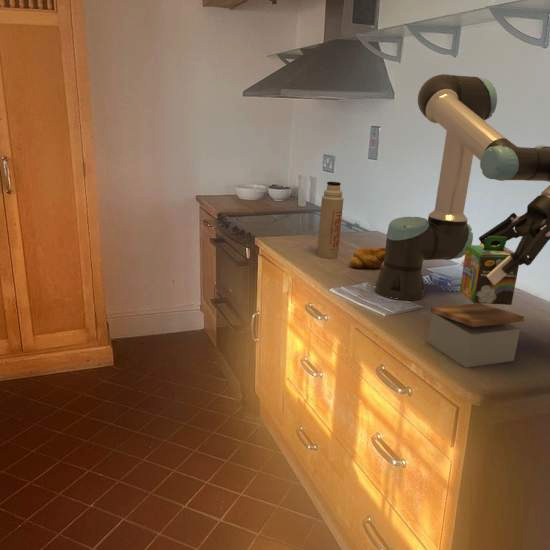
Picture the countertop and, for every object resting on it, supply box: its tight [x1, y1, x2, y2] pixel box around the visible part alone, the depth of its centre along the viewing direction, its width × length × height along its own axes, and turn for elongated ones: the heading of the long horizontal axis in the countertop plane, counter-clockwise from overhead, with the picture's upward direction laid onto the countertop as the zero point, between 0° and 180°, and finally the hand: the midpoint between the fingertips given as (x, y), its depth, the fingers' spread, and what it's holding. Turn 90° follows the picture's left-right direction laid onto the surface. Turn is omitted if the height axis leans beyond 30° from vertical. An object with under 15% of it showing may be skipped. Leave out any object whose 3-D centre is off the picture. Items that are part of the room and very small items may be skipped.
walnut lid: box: [430, 303, 525, 327], centre depth 130 cm, size 15×14×1 cm
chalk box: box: [459, 236, 520, 306], centre depth 125 cm, size 9×9×15 cm
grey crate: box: [427, 312, 521, 368], centre depth 131 cm, size 14×14×8 cm
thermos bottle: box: [316, 181, 344, 260], centre depth 206 cm, size 8×8×28 cm
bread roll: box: [349, 247, 386, 270], centre depth 198 cm, size 13×10×8 cm
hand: (477, 273), depth 124 cm, fingers closed on chalk box, 10 cm apart
